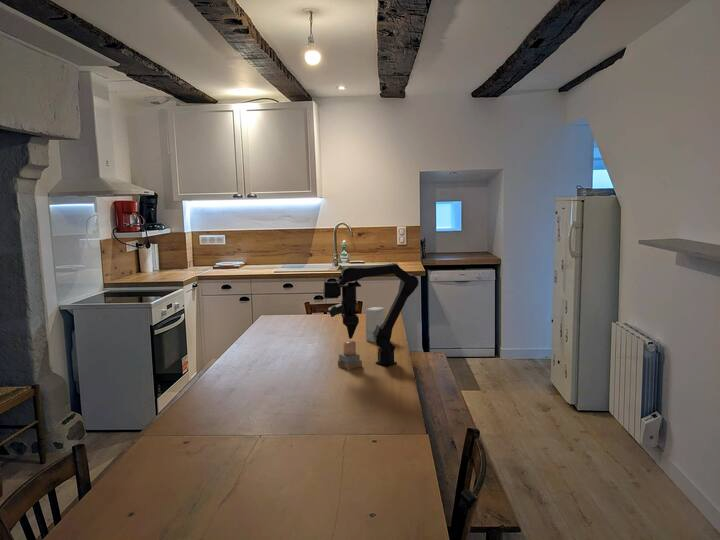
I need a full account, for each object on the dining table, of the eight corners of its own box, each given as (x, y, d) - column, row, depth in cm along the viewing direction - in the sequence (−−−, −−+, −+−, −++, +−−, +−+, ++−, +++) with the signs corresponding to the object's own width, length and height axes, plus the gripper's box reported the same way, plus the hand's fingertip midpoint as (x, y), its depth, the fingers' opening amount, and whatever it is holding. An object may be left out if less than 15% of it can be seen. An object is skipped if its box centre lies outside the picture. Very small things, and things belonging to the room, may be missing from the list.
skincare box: (376, 343, 254) (375, 310, 252) (364, 341, 258) (364, 309, 256) (386, 339, 261) (385, 307, 259) (375, 337, 265) (374, 306, 263)
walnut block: (362, 367, 220) (361, 360, 220) (348, 371, 216) (348, 364, 215) (350, 363, 225) (350, 356, 225) (337, 367, 221) (337, 360, 220)
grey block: (359, 360, 220) (359, 354, 219) (347, 363, 216) (347, 357, 216) (350, 357, 224) (350, 351, 224) (339, 360, 221) (338, 354, 220)
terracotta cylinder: (358, 354, 220) (358, 342, 219) (348, 356, 217) (348, 344, 216) (350, 351, 224) (350, 339, 223) (341, 354, 220) (340, 342, 220)
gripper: (328, 294, 226) (329, 330, 228) (329, 302, 207) (330, 342, 209) (355, 293, 226) (355, 329, 229) (358, 302, 208) (359, 341, 210)
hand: (349, 335), depth 219 cm, fingers open, 9 cm apart
